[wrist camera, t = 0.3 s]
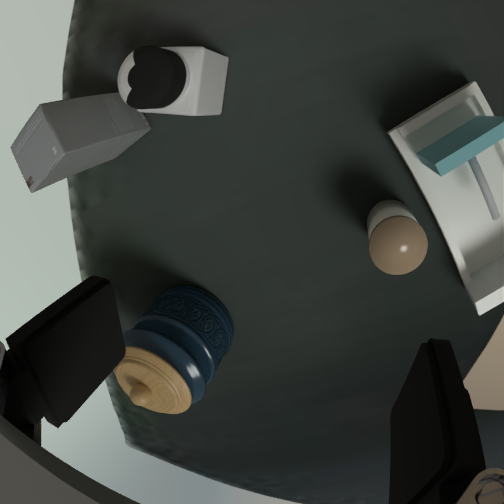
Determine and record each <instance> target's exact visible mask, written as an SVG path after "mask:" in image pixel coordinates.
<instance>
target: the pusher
mask: <svg viewBox="0 0 504 504" xmlns="http://www.w3.org/2000/svg"><path fill="white" fill-rule="evenodd" d="M503 138H504V117H497V116H479V115H478V116H477V117H475V118H473V119H472V120H470V121H468V122H467V123H465V124H463V125H462V126H460V127H458V128H457V129H455V130H454V131H452V132H450V133H449V134H447V135H445V136H444V137H442V138H440V139H439V140H437V141H435V142H434V143H432V144H431V145H429V146H427V147H426V148H424V149H422V150H421V151H419V152H417V153H416V155H417V156H418V158H419V160H420V162H421V163H422V164H423V165H425V166H426V167H428V168H429V169H431V170H432V171H434V172H435V173H437V174H438V175H439V176H441V177H442V176H443V175H445V174H447V173H448V172H450V171H452V170H453V169H455V168H457V167H458V166H460V165H461V164H463V163H465V162H466V161H468V163H469V165H470V167H471V169H472V171H473V174H474V176H475V178H476V180H477V182H478V185H479V187H480V189H481V192H482V194H483V196H484V199H485V201H486V204H487V206H488V209H489V211H490V214H491V217H492V219H493V220H497V219H499V218H500V214H499V211H498V208H497V206H496V203H495V200H494V198H493V195H492V193H491V190H490V188H489V185H488V183H487V181H486V178H485V176H484V174H483V172H482V169H481V167H480V165H479V163H478V161H477V159H476V155H478V154H479V153H481V152H482V151H484V150H486V149H487V148H489V147H490V146H492V145H494V144H495V143H497V142H498V141H500V140H501V139H503Z"/></svg>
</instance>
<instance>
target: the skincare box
mask: <svg viewBox="0 0 504 504" xmlns="http://www.w3.org/2000/svg"><path fill="white" fill-rule="evenodd" d="M149 130H151V127H150V125H149V123H148V121H147V119H146V117H145V116H144V114H143V112H138V111H137V109H135V108H132V107H130V106H129V105H127V104H126V103H125V102H124V100H123V99H122V97H121V95H120V93H119V92H117V93H108V94H100V95H92V96H85V97H78V98H72V99H66V100H60V101H54V102H49V103H44V104H40V105H39V106H38V107H37V109H36V110H35V112H34V113H33V114H32V116H31V117H30V119H29V120H28V121H27V123H26V124H25V126H24V127H23V129H22V130H21V132H20V133H19V135H18V136H17V138H16V140H15V141H14V143H13V144H12V146H11V150H12V152H13V155H14V157H15V159H16V162H17V163H18V166H19V168H20V170H21V172H22V175H23V177H24V179H25V181H26V183H27V185H28V188H29V189H30V191H31V193H33V192H35V191H38V190H40V189H42V188H44V187H46V186H48V185H51V184H53V183H55V182H57V181H60V180H62V179H64V178H66V177H69V176H71V175H74V174H76V173H79V172H81V171H83V170H86V169H88V168H91V167H94V166H96V165H99V164H101V163H104V162H107V161H109V160H112V159H115V158H116V157H117V156H119V155H120V154H121V153H122V152H123V151H125V150H126V149H127V148H128V147H129V146H131V145H132V144H133V143H134V142H136V141H137V140H138V139H139V138H141V137H142V136H143V135H144V134H146V133H147V132H148V131H149Z"/></svg>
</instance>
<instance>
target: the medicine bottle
mask: <svg viewBox="0 0 504 504" xmlns="http://www.w3.org/2000/svg"><path fill="white" fill-rule="evenodd" d="M228 61H229V58H228V57H227V56H225V55H222V54H220V53H218V52H215V51H213V50H210V49H208V48H205V47H156V46H143V47H140V48H138V49H136V50H134V51H133V52H131V53H130V54H129V55H128V56H127V58H126V59H125V60H124V62H123V63H122V65H121V67H120V70H119V74H118V89H119V93H120V95H121V97H122V99H123V100H124V102H125V103H126V104H127V105H129V106H130V107H132V108H135V109H137V111H138V112H147V113H163V114H177V115H188V116H203V115H220V114H221V112H222V104H223V96H224V89H225V82H226V74H227V67H228Z"/></svg>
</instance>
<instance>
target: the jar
mask: <svg viewBox="0 0 504 504" xmlns="http://www.w3.org/2000/svg"><path fill="white" fill-rule="evenodd" d="M367 229H368V236H369V251H370V256H371V258H372V260H373V262H374V264H375V265H376V266H377V267H378V268H379V269H380V270H382V271H384V272H386V273H389V274H393V275H401V274H406V273H409V272H411V271H413V270H414V269H415V268H417V267H418V266H419V265H420V264H421V262H422V261H423V259H424V258H425V255H426V252H427V245H428V243H427V237H426V234H425V232H424V230H423V229H422V227H421V226H420V225H419V223H418V222H417V221H416V219H415V217H414V216H413V214H412V212H411V211H410V209H409V208H408V207H407V206H406V205H405V204H404V203H402V202H400V201H398V200H391V199H390V200H384V201H381V202H379V203H378V204H376V205H375V206H374V207H373V208H372V209H371V211H370V213H369V215H368V218H367Z"/></svg>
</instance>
